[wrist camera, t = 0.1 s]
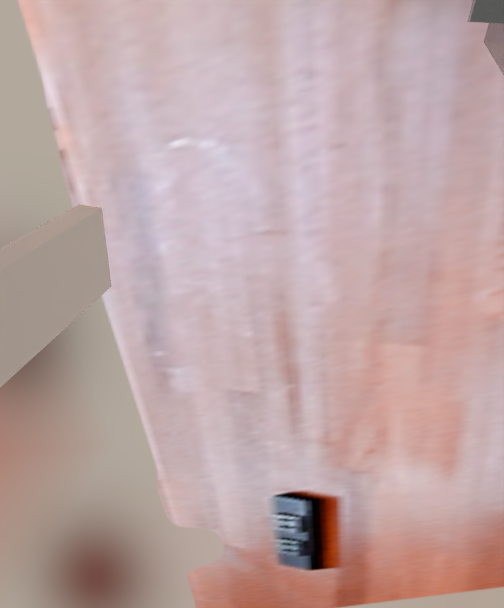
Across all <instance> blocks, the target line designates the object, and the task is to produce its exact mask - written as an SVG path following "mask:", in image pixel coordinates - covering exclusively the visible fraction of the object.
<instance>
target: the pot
mask: <svg viewBox="0 0 504 608" xmlns="http://www.w3.org/2000/svg"><path fill="white" fill-rule="evenodd" d="M468 22H480V23H489V26H488V30H487V33H486V37H485V40H484V43H485V44H486V46H487V48H488V49H489V51H490V53H491V54H492V56H493V58H494V59H495V61H496V63H497V64H498V66H499V68H500V69H501V71H502V73H503V75H504V0H473V3H472V7H471V10H470V14H469V18H468Z"/></svg>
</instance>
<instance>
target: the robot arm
mask: <svg viewBox="0 0 504 608" xmlns="http://www.w3.org/2000/svg"><path fill="white" fill-rule="evenodd" d="M110 287H111V279H110V271H109V263H108V255H107V247H106V239H105V231H104V223H103V215H102V208H97V207H91V206H85V205H78V206H76V207H74V208H72V209H71V210H69V211H67V212H65V213H64V214H62V215H60V216H58V217H56V218H54V219H53V220H51V221H49V222H47V223H46V224H44V225H42V226H40V227H38V228H36V229H35V230H33V231H31V232H29V233H27V234H26V235H24V236H22V237H20V238H18V239H17V240H15V241H13V242H11V243H9V244H8V245H6V246H4V247H2V248H0V387H1V386H2V385H3V384H4V383H5V382H7V381H8V380H9V379H10V378H11V377H12V376H13V375H14V374H15V373H17V372H18V371H19V370H20V369H21V368H22V367H23V366H24V365H25V364H26V363H27V362H29V361H30V360H31V359H32V358H33V357H34V356H35V355H36V354H37V353H38V352H39V351H41V350H42V349H43V348H44V347H45V346H46V345H47V344H48V343H49V342H50V341H52V340H53V339H54V338H55V337H56V336H57V335H58V334H59V333H60V332H61V331H63V330H64V329H65V328H66V327H67V326H68V325H69V324H70V323H71V322H73V321H74V320H75V319H76V318H77V317H78V316H79V315H80V314H81V313H82V312H84V311H85V310H86V309H87V308H88V307H89V306H90V305H91V304H92V303H93V302H94V301H96V300H97V299H98V298H99V297H100V296H101V295H102V294H103V293H104V292H106V291H107V290H108V289H109V288H110Z"/></svg>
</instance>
